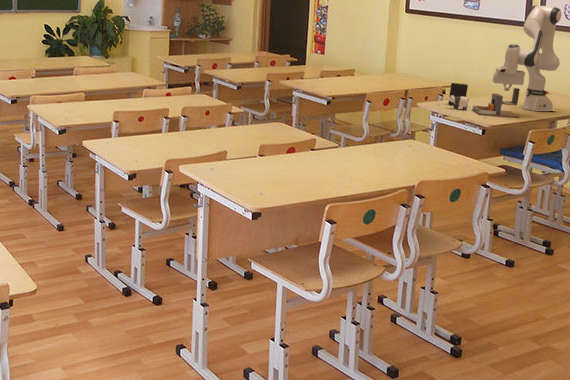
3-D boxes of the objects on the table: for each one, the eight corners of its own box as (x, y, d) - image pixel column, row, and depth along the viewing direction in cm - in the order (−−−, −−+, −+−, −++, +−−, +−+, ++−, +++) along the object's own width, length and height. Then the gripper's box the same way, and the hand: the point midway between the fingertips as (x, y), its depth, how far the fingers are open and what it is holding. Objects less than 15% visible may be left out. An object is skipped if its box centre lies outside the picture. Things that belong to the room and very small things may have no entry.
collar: (490, 111, 546) (491, 103, 544) (493, 112, 540) (494, 105, 539) (487, 110, 546) (488, 103, 544) (490, 112, 540) (491, 104, 538)
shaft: (515, 104, 544) (518, 88, 541) (517, 105, 541) (519, 89, 538) (496, 103, 543) (499, 86, 540) (497, 104, 540) (500, 87, 537)
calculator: (464, 105, 564) (467, 84, 560) (464, 106, 560) (468, 85, 556) (448, 104, 565) (451, 82, 561) (448, 105, 561) (451, 83, 557)
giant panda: (466, 109, 552) (468, 95, 549) (468, 110, 547) (470, 96, 544) (444, 107, 552) (446, 93, 549) (446, 109, 546) (448, 94, 543)
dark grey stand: (511, 113, 552) (514, 94, 549) (519, 117, 537) (522, 98, 533) (472, 110, 550) (474, 91, 546) (479, 115, 535) (482, 95, 531)
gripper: (523, 70, 539) (520, 90, 543) (493, 68, 538) (490, 88, 542) (527, 71, 533) (523, 92, 537) (496, 69, 532) (493, 90, 536)
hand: (506, 90), depth 540 cm, fingers closed
